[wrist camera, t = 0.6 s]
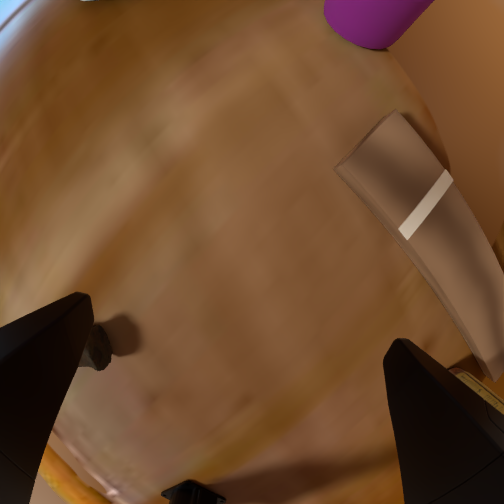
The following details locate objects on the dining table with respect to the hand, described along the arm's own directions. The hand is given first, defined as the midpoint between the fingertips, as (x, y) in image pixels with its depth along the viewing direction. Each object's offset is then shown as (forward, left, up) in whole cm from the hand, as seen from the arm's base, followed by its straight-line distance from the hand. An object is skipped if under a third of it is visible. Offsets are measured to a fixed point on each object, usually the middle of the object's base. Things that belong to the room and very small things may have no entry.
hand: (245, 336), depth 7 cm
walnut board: (+13, -16, -15) cm, 26 cm away
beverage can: (+23, +8, -15) cm, 29 cm away
